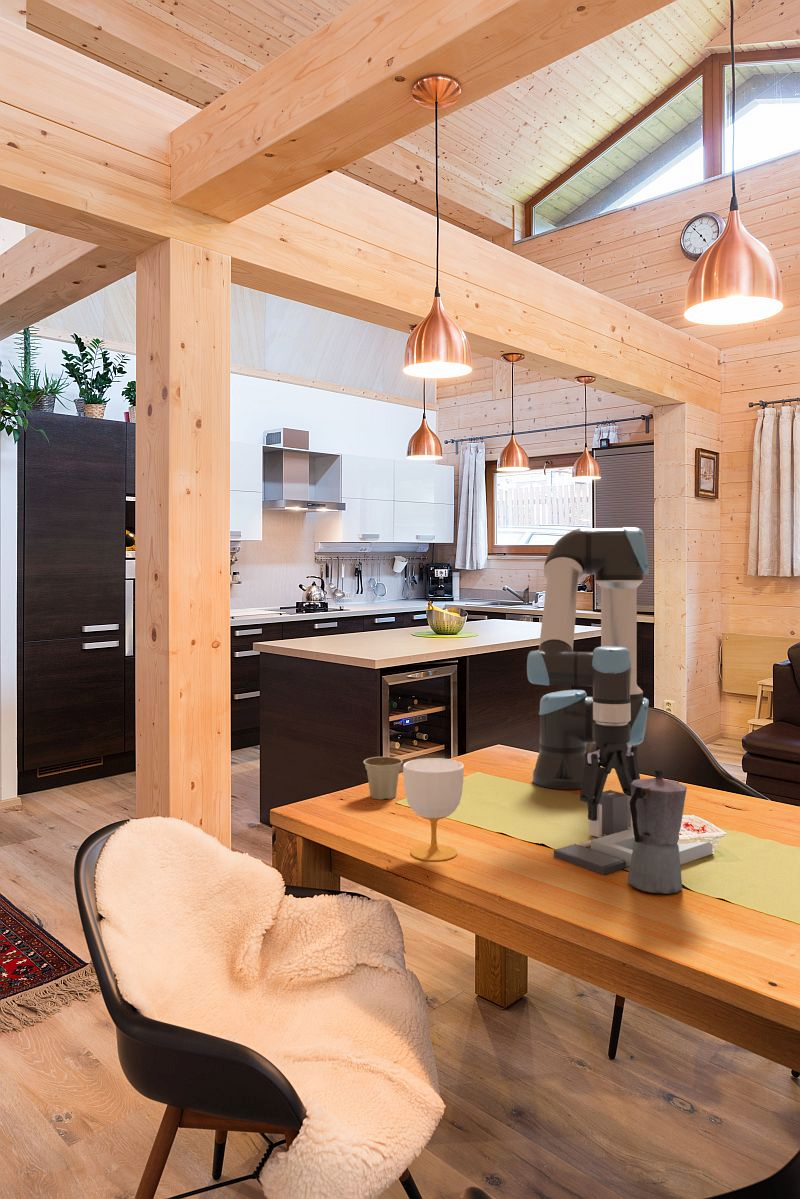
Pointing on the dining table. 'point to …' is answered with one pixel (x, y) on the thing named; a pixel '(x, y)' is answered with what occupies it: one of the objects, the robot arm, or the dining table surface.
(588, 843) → the cable
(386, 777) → the flower pot
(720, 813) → the dining table surface
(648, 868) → the moka pot
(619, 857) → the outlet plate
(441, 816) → the cup
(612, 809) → the charger block
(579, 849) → the phone
